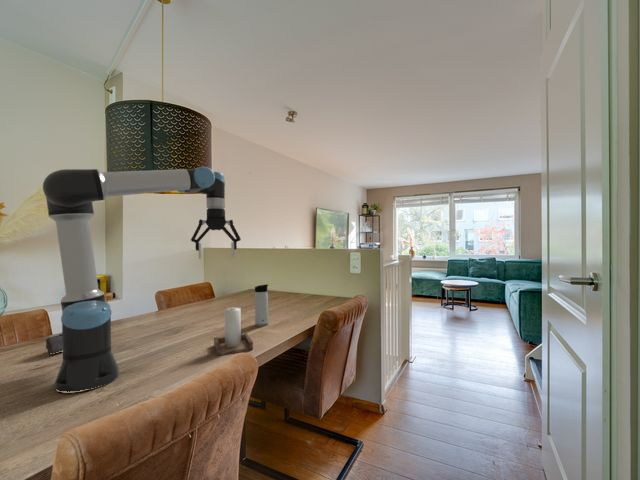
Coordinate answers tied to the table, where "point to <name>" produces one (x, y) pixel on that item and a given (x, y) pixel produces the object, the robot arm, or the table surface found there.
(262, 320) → the travel mug
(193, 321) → the table surface
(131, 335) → the table surface
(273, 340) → the table surface
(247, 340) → the tray
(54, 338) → the perforated stone tool
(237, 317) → the paper roll
